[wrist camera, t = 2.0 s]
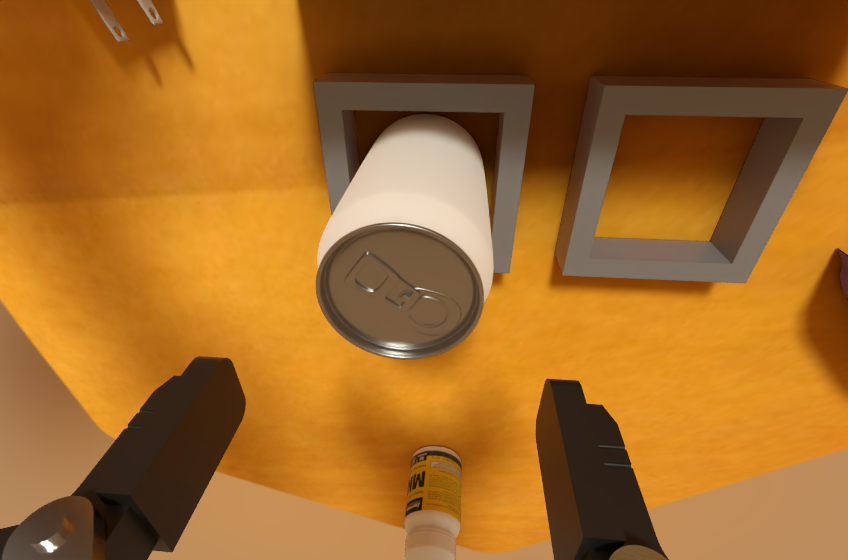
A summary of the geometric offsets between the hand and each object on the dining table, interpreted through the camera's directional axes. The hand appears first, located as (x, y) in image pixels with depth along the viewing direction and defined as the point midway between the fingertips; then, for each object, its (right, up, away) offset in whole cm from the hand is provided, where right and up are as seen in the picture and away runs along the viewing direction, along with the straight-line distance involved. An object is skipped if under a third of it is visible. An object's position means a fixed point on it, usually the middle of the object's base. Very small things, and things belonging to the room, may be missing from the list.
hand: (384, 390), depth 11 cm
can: (+1, +9, +13) cm, 16 cm away
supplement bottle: (+2, -14, +29) cm, 32 cm away
